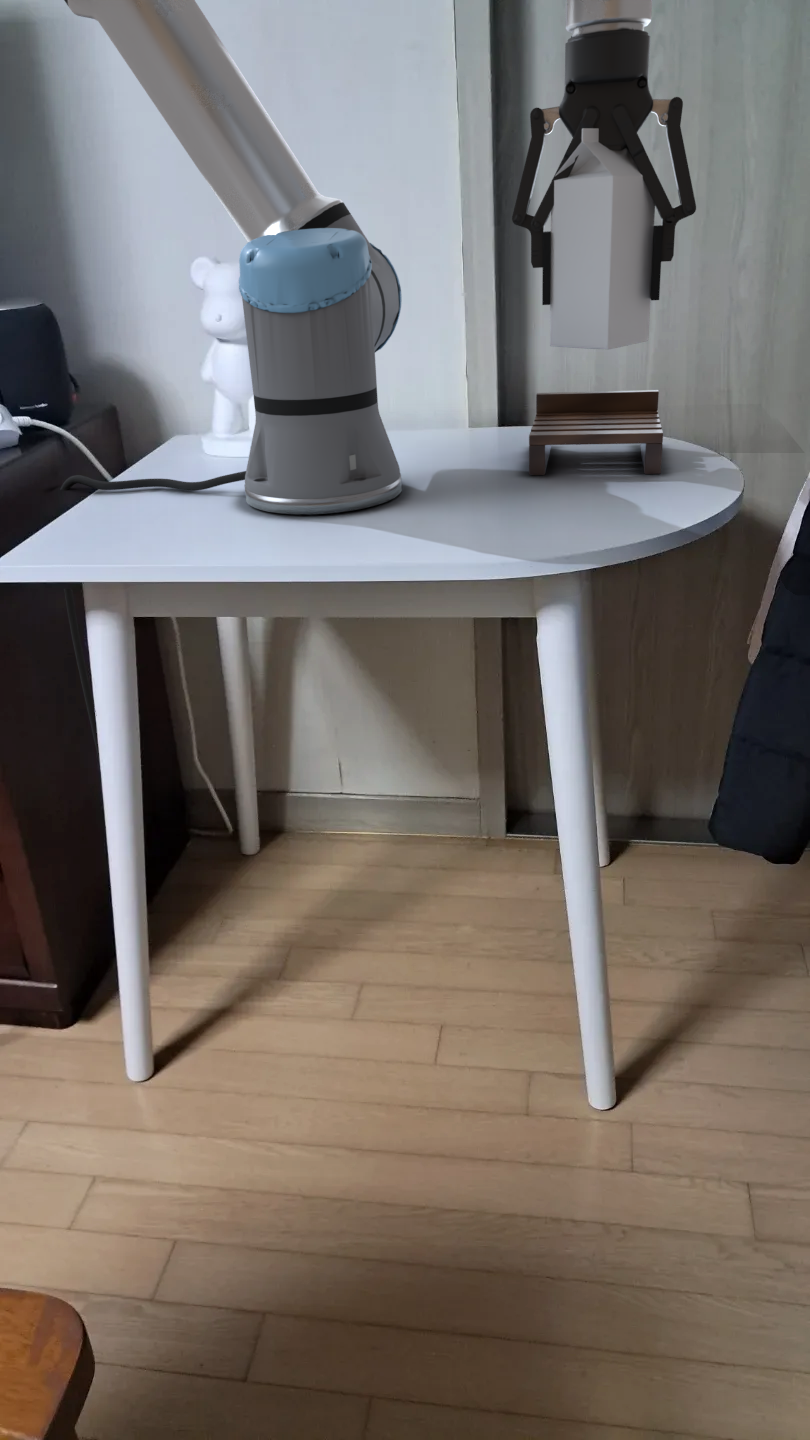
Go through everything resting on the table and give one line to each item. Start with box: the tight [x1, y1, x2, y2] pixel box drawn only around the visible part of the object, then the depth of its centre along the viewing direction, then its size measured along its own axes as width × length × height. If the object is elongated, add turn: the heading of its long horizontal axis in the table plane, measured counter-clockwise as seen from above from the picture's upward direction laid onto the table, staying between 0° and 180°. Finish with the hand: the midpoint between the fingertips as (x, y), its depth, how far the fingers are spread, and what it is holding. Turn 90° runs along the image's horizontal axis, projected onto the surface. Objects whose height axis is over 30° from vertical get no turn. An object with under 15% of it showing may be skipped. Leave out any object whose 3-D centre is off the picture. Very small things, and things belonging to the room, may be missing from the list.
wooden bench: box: [528, 389, 664, 476], centre depth 108 cm, size 13×13×6 cm
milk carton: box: [549, 128, 656, 350], centre depth 99 cm, size 7×7×19 cm
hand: (600, 301), depth 102 cm, fingers closed on milk carton, 10 cm apart
